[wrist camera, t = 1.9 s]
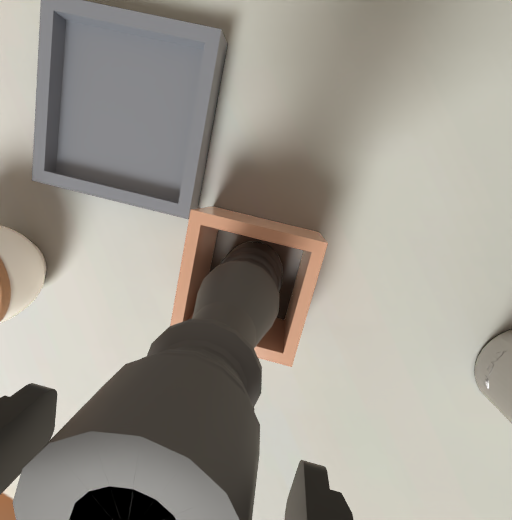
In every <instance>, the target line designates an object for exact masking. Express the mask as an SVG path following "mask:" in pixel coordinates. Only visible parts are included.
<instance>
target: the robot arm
mask: <svg viewBox="0 0 512 520" xmlns="http://www.w3.org/2000/svg"><path fill="white" fill-rule="evenodd" d="M475 379H476V383H477V385H478V387H479V389H480V391H481V392H482V393H483V394H484V395H485V397H486V398H487V399H488V400H489V401H490V402H491V403H492V404H493V405H494V406H495V407H496V408H497V409H498V410H499V411H500V412H501V413H502V414H503V415H504V416H505V417H506V418H507V419H508V420H509V421H510V422H511V423H512V330H509V331H506V332H504V333H502V334H500V335H498V336H497V337H495V338H494V339H492V340H491V341H490V342H489V343H488V344H487V345H486V346H485V347H484V348H483V349H482V351H481V353H480V354H479V356H478V358H477V361H476V364H475ZM56 403H57V391H56V390H55V389H51V388H48V387H44V386H41V385H37V384H33V383H31V384H28V385H26V386H25V387H23V388H22V389H20V390H19V391H18V392H16V393H15V394H14V395H12V396H11V397H8V396H3V397H1V398H0V494H1V493H2V492H3V491H4V490H5V489H6V488H7V487H8V486H9V485H10V484H11V483H12V482H13V481H14V480H15V479H16V478H17V477H18V476H19V475H20V474H21V472H22V469H23V468H24V467H25V466H26V464H27V463H28V462H29V461H30V460H31V459H32V458H33V457H34V456H35V455H36V454H37V453H38V452H39V451H40V450H41V449H42V448H43V447H44V446H45V445H46V444H47V443H48V442H49V441H50V439H51V437H52V434H53V432H54V427H55V415H56ZM285 520H353V515H352V512H351V510H350V508H349V507H348V505H347V503H346V501H345V499H344V497H343V495H342V493H340V492H337V491H333V490H330V488H329V481H328V474H327V470H326V467H324V466H321V465H317V464H314V463H310V462H307V461H303V460H301V461H300V463H299V465H298V468H297V471H296V474H295V477H294V480H293V484H292V487H291V490H290V493H289V496H288V499H287V504H286V511H285Z"/></svg>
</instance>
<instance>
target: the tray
mask: <svg viewBox="0 0 512 520" xmlns="http://www.w3.org/2000/svg"><path fill="white" fill-rule="evenodd" d="M227 45H228V44H227V41H226V39H225V36H224V34H223V32H222V29H218V28H213V27H208V26H204V25H199V24H194V23H189V22H185V21H180V20H175V19H170V18H165V17H161V16H156V15H151V14H146V13H141V12H137V11H132V10H127V9H122V8H117V7H113V6H108V5H103V4H98V3H93V2H89V1H84V0H41V8H40V28H39V49H38V69H37V89H36V109H35V129H34V149H33V169H32V181H36V182H40V183H44V184H48V185H52V186H56V187H60V188H64V189H68V190H72V191H76V192H80V193H84V194H88V195H92V196H96V197H100V198H105V199H109V200H113V201H117V202H121V203H125V204H129V205H133V206H137V207H141V208H145V209H149V210H153V211H157V212H161V213H165V214H169V215H173V216H177V217H182V218H186V219H189V217H190V211H191V209H197V208H198V205H199V199H200V194H201V188H202V183H203V177H204V172H205V166H206V161H207V155H208V150H209V144H210V139H211V133H212V128H213V122H214V117H215V111H216V106H217V100H218V95H219V89H220V84H221V78H222V73H223V67H224V62H225V56H226V51H227Z"/></svg>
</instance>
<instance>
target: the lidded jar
mask: <svg viewBox="0 0 512 520" xmlns="http://www.w3.org/2000/svg"><path fill="white" fill-rule="evenodd" d="M45 276H46V262H45V258H44V256H43V254H42V252H41V251H40V249H39V248H38V247H37V246H36V245H35V244H34V243H32V242H31V241H30V240H29V239H27V238H26V237H25V236H23V235H22V234H20V233H18V232H16V231H15V230H12V229H10V228H7V227H4V226H1V225H0V324H1V323H3V322H5V321H7V320H9V319H11V318H13V317H14V316H16V315H18V314H19V313H20V312H22V311H23V310H24V309H26V308H27V307H28V306H29V305H30V304H31V303H32V302H33V301H34V300H35V299H36V298H37V296H38V295H39V293H40V291H41V289H42V287H43V284H44V280H45Z"/></svg>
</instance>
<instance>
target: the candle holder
mask: <svg viewBox="0 0 512 520" xmlns="http://www.w3.org/2000/svg"><path fill="white" fill-rule="evenodd" d="M281 285H282V263H281V261H280V258H279V255H278V254H277V253H276V252H275V251H274V250H273V249H272V248H271V247H270V246H268V245H265V244H263V243H261V242H245V243H243V244H240V245H237V246H236V247H235V248H234V249H233V250H232V251H231V252H230V253H229V254H228V255H227V256H226V257H225V258H224V259H223V260H222V262H221V264H220V265H218V266H216V267H215V268H214V269H213V270H212V271H211V272H210V273H209V274H208V275H207V276H206V277H205V278H204V279H203V281H202V283H201V286H200V288H199V291H198V294H197V299H196V304H195V308H194V313H193V317H192V319H189V320H186V321H183V322H180V323H177V324H175V325H172V326H170V327H169V328H168V329H166V330H165V331H164V332H163V333H162V334H161V335H160V336H159V337H158V338H157V339H156V340H155V341H154V342H153V343H152V344H151V347H150V349H149V352H148V355H147V357H144V358H142V359H140V360H137V361H134V362H131V363H128V364H125V365H124V366H123V367H122V368H121V369H120V370H119V371H118V372H117V373H116V374H115V375H114V376H113V377H112V378H111V379H110V380H109V381H108V382H107V383H106V384H105V385H104V386H103V387H102V388H101V389H100V390H99V391H98V392H97V393H96V394H95V395H94V396H93V397H92V398H91V399H90V400H89V401H88V402H87V403H86V404H85V405H84V406H83V407H82V408H81V409H80V410H79V411H78V412H77V413H76V414H75V415H74V416H73V417H72V418H71V419H70V420H69V421H68V422H67V423H66V425H65V426H64V427H63V428H62V429H61V430H60V431H59V432H58V433H57V434H56V435H55V436H54V437H53V438H52V439H51V440H50V441H49V442H48V443H47V444H46V445H45V446H44V447H43V448H42V449H41V450H40V451H39V452H38V453H37V454H36V455H35V456H34V457H33V458H32V459H31V460H30V461H29V462H28V463H27V464H26V466H25V467H24V468H23V469H22V472H21V475H20V479H19V482H18V486H17V489H16V493H15V496H14V500H13V507H14V512H15V516H16V520H252V513H253V504H254V496H255V487H256V478H257V470H258V461H259V444H260V424H259V422H258V420H257V417H256V415H255V413H254V406H255V404H256V402H257V400H258V398H259V396H260V394H261V378H262V367H261V364H260V362H259V359H258V357H257V355H256V352H255V350H254V348H255V347H256V345H257V344H258V343H259V342H260V340H261V339H262V338H263V337H264V335H265V334H266V333H267V332H268V331H269V329H270V328H271V327H272V325H273V323H274V321H275V319H276V317H277V315H278V313H279V290H280V288H281Z"/></svg>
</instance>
